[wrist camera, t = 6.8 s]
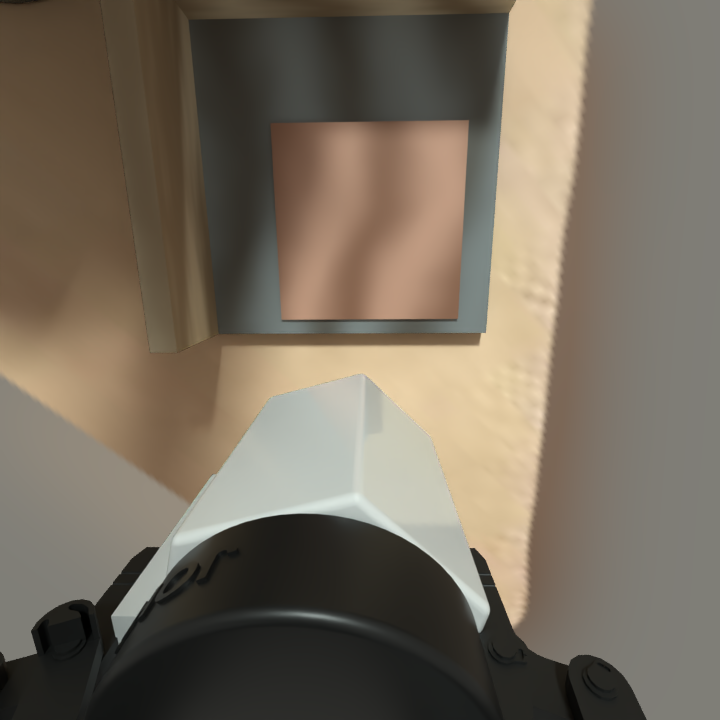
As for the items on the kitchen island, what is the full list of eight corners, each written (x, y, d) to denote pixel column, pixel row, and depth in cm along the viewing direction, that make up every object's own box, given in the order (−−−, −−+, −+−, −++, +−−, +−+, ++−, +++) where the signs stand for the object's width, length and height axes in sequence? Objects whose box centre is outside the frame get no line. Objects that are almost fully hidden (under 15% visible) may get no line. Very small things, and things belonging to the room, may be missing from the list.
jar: (274, 350, 17) (84, 541, 6) (448, 393, 18) (601, 656, 6) (241, 514, 20) (58, 889, 8) (395, 550, 20) (433, 956, 8)
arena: (203, 331, 28) (149, 352, 21) (168, 0, 23) (84, -111, 16) (481, 330, 27) (519, 352, 20) (505, -7, 22) (564, -124, 16)
